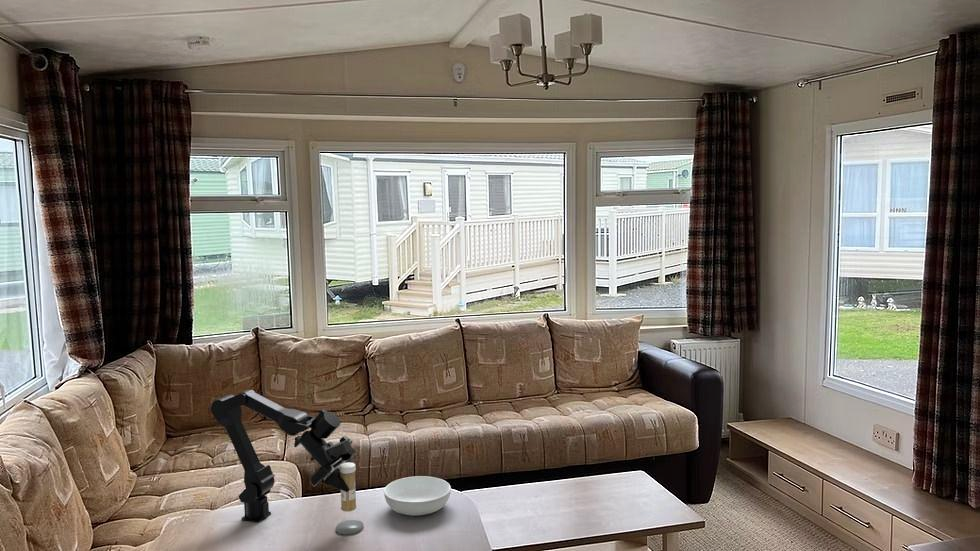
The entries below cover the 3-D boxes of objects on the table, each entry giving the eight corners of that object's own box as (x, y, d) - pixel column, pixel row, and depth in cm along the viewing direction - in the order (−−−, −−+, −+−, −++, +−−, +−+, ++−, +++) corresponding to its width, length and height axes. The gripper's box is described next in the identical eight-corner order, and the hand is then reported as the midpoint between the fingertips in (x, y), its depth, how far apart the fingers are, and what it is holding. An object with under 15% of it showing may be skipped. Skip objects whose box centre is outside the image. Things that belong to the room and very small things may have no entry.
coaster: (330, 532, 196) (330, 530, 196) (344, 521, 203) (344, 518, 203) (355, 536, 193) (355, 533, 193) (368, 524, 201) (368, 521, 201)
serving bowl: (448, 523, 200) (448, 501, 200) (378, 524, 201) (378, 502, 200) (453, 495, 221) (453, 475, 221) (390, 495, 222) (389, 475, 221)
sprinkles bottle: (357, 511, 196) (356, 466, 195) (341, 513, 195) (340, 468, 194) (355, 504, 201) (354, 461, 200) (340, 506, 199) (338, 462, 198)
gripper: (318, 441, 188) (354, 483, 186) (349, 421, 206) (383, 459, 204) (294, 465, 191) (329, 507, 189) (327, 444, 209) (360, 482, 207)
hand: (352, 487), depth 197 cm, fingers closed on sprinkles bottle, 4 cm apart
